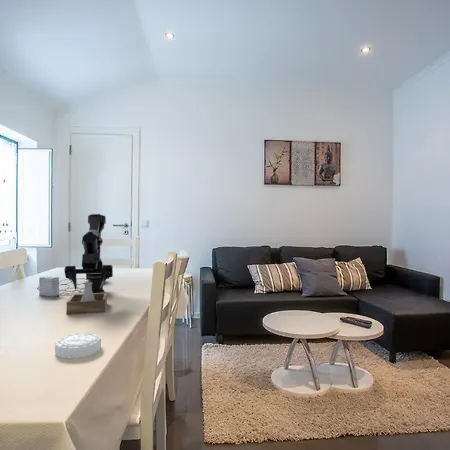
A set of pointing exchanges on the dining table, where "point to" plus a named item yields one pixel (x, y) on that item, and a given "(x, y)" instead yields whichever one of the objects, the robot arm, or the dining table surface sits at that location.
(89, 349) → the mooncake
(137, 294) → the dining table surface
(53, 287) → the medicine box
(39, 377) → the dining table surface
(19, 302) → the dining table surface
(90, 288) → the flask
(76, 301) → the walled box
